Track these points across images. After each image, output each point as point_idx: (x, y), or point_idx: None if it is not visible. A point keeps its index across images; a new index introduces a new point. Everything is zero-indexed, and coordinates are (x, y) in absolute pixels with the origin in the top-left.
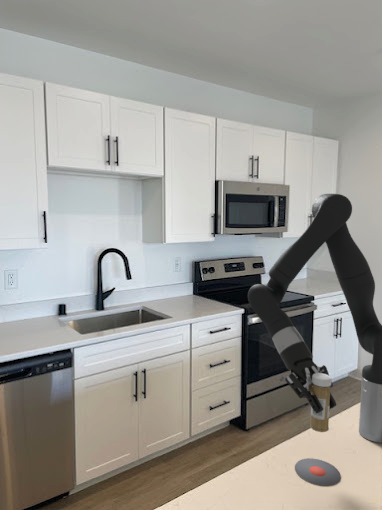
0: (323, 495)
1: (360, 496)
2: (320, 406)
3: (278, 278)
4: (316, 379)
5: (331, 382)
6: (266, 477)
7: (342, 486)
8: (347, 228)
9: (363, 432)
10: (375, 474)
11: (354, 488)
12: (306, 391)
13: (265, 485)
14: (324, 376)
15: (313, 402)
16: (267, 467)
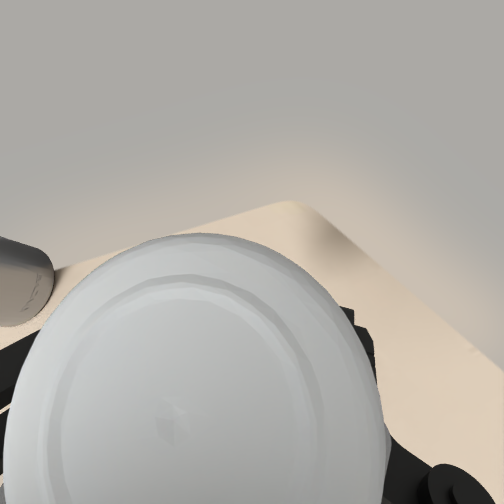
0: (356, 288)
1: (295, 228)
2: (349, 319)
3: None
4: (378, 463)
5: (13, 347)
6: (413, 444)
7: None
8: None
9: (33, 304)
10: (193, 231)
11: (277, 247)
12: (461, 496)
13: (447, 427)
14: (161, 361)
15: (374, 376)
16: None
